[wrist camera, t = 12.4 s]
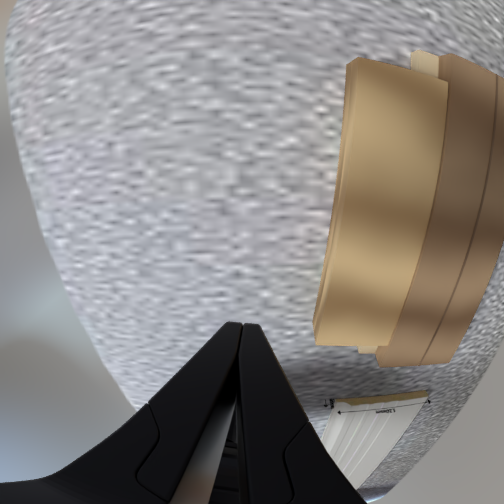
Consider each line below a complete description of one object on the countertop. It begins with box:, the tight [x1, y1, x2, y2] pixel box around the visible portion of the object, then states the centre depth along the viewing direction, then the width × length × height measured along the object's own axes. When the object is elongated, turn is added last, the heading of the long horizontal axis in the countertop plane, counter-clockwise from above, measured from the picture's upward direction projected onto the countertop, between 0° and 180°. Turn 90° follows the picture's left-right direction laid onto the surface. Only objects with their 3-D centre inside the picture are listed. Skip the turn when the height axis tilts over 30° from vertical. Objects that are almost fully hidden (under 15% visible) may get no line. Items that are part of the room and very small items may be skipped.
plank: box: [312, 57, 448, 346], centre depth 17 cm, size 18×6×3 cm, turn 177°
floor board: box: [357, 50, 504, 367], centre depth 17 cm, size 22×8×3 cm, turn 177°
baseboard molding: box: [321, 390, 431, 490], centre depth 32 cm, size 31×3×12 cm
